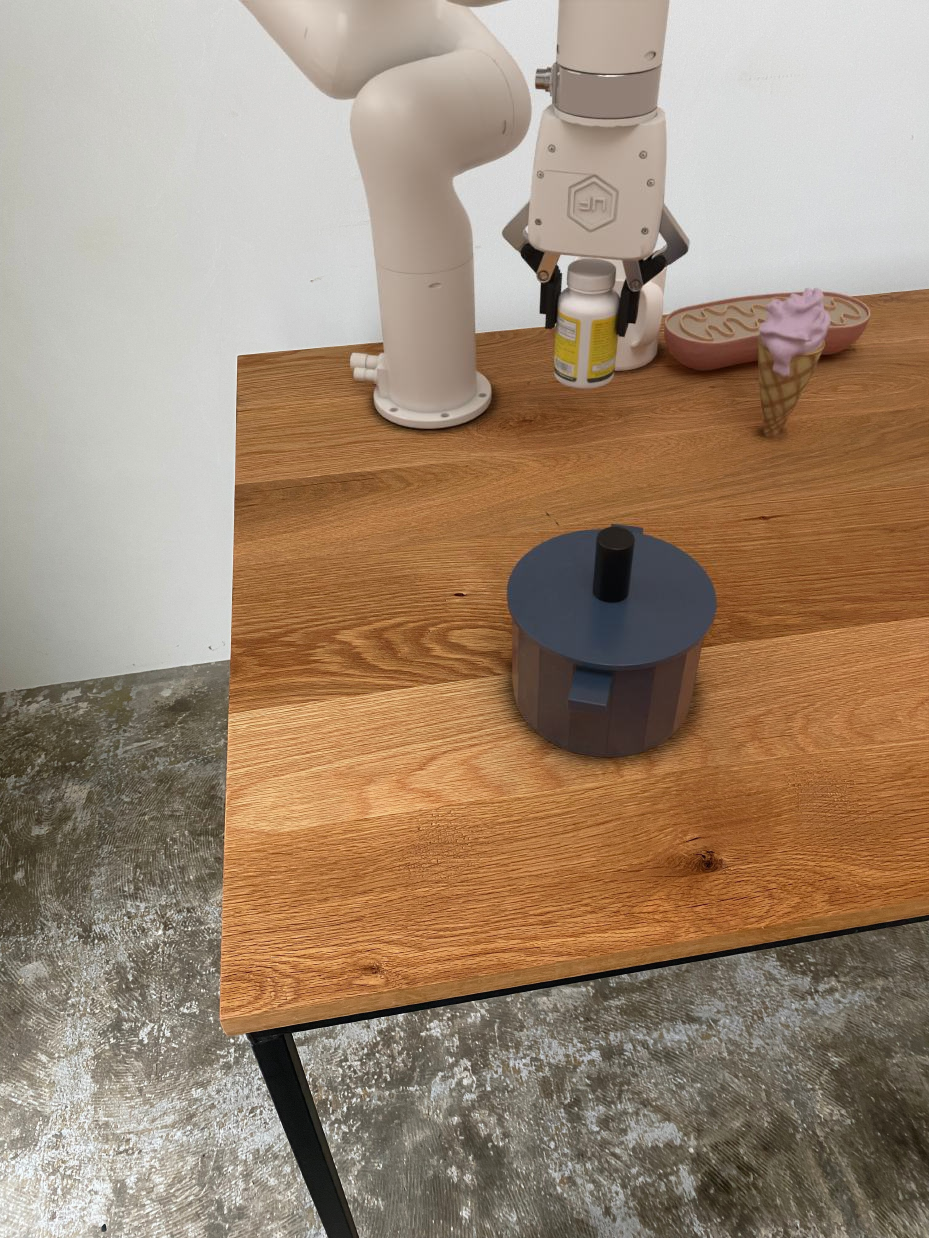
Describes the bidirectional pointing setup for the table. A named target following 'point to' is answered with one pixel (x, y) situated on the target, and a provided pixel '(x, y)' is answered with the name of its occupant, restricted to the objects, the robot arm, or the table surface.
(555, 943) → the table surface
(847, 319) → the mitochondrion model
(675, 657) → the pot lid
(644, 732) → the pot
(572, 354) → the supplement bottle
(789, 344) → the ice cream cone
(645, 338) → the mug
